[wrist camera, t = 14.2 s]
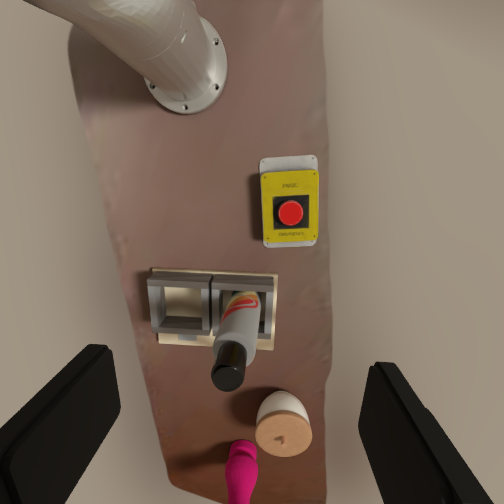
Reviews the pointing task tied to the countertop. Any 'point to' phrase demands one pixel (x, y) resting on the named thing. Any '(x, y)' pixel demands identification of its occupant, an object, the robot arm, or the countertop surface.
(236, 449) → the pepper mill
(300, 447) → the lidded jar
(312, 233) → the emergency button
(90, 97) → the countertop surface
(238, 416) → the countertop surface
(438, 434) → the robot arm
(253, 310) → the lotion bottle
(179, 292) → the socket board
